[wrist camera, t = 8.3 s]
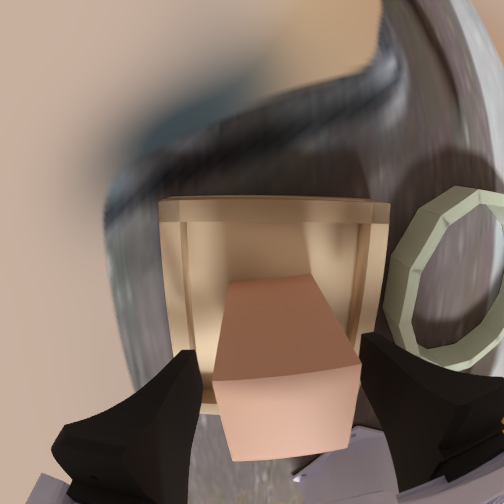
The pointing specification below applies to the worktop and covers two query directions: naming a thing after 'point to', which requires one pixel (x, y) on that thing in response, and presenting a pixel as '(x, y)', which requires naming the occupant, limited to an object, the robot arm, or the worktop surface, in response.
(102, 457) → the robot arm
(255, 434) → the pink block
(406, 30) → the worktop surface
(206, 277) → the birch tray
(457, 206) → the ceramic ring
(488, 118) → the worktop surface
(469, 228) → the worktop surface
